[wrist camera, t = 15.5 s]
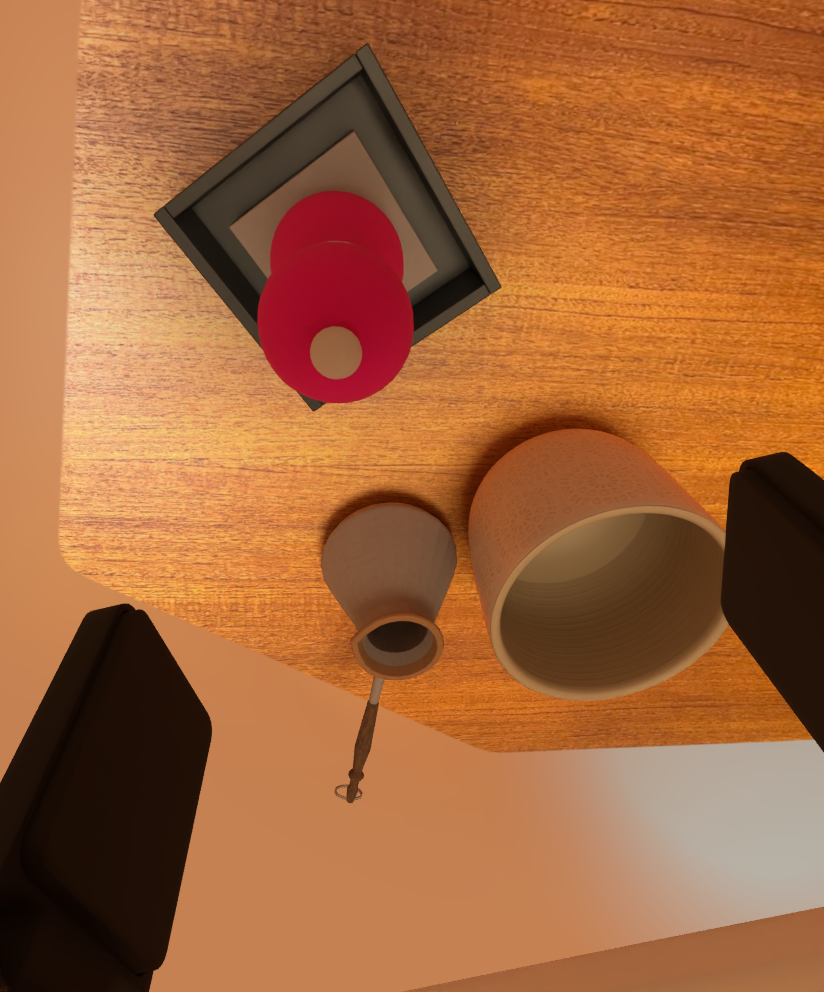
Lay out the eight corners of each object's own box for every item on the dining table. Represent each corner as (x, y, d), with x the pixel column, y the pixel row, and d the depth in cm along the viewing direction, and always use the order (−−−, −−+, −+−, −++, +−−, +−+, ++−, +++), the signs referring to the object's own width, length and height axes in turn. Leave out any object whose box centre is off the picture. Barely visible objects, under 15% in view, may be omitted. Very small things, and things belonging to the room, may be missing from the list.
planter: (472, 394, 48) (521, 497, 35) (675, 411, 51) (789, 513, 38) (440, 568, 57) (469, 701, 44) (614, 575, 60) (690, 703, 47)
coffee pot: (338, 474, 51) (338, 595, 38) (469, 501, 54) (510, 623, 41) (288, 658, 61) (274, 802, 48) (400, 674, 64) (415, 813, 51)
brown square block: (353, 128, 38) (354, 130, 34) (430, 258, 42) (438, 271, 39) (237, 217, 40) (228, 227, 36) (323, 332, 44) (322, 350, 41)
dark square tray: (364, 51, 36) (367, 42, 32) (484, 268, 43) (502, 287, 39) (174, 202, 39) (152, 214, 35) (316, 381, 47) (313, 412, 42)
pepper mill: (366, 160, 35) (391, 204, 18) (416, 280, 39) (474, 409, 22) (254, 216, 36) (177, 306, 19) (312, 328, 40) (292, 487, 23)
